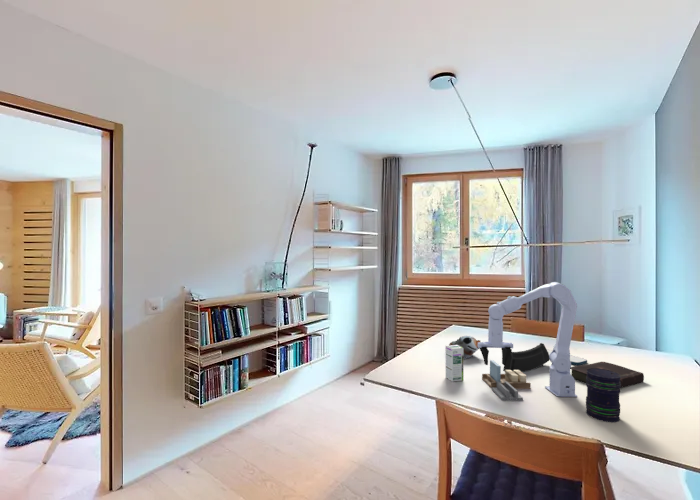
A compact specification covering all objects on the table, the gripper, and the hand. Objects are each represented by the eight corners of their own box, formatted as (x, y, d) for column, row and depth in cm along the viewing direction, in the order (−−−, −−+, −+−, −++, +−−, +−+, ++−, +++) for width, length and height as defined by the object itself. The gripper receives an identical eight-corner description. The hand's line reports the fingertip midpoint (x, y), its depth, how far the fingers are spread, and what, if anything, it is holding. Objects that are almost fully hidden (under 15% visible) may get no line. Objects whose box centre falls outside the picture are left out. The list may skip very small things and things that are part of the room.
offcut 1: (517, 385, 152) (518, 375, 152) (512, 384, 152) (512, 375, 152) (510, 378, 159) (510, 369, 159) (505, 378, 160) (505, 369, 159)
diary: (644, 384, 159) (644, 372, 159) (610, 393, 148) (610, 381, 148) (599, 370, 176) (600, 359, 176) (566, 377, 165) (566, 366, 165)
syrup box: (452, 382, 157) (452, 348, 157) (444, 377, 163) (445, 344, 163) (463, 380, 159) (464, 347, 159) (456, 376, 165) (456, 344, 165)
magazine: (505, 356, 165) (544, 330, 179) (499, 354, 168) (538, 329, 181) (512, 390, 167) (550, 362, 181) (506, 388, 170) (544, 360, 184)
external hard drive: (532, 354, 200) (532, 351, 200) (545, 351, 206) (545, 348, 206) (576, 367, 180) (576, 363, 180) (589, 363, 185) (590, 359, 185)
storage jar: (594, 421, 123) (594, 377, 123) (580, 408, 133) (580, 367, 132) (626, 423, 121) (627, 378, 121) (610, 410, 131) (611, 369, 131)
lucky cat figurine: (469, 351, 204) (480, 331, 199) (476, 366, 193) (488, 345, 188) (444, 344, 202) (455, 324, 197) (450, 358, 191) (462, 338, 186)
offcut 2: (526, 385, 152) (526, 375, 152) (520, 385, 152) (520, 375, 152) (518, 379, 159) (518, 369, 159) (513, 378, 159) (513, 369, 159)
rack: (530, 388, 150) (530, 383, 150) (491, 388, 151) (491, 382, 151) (518, 379, 161) (518, 373, 161) (482, 378, 162) (482, 373, 162)
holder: (523, 400, 139) (523, 391, 139) (501, 400, 139) (502, 391, 139) (511, 390, 149) (511, 381, 149) (491, 389, 149) (491, 381, 149)
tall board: (500, 385, 152) (500, 366, 152) (497, 385, 152) (497, 366, 152) (492, 378, 160) (493, 360, 160) (489, 378, 160) (489, 360, 160)
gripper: (508, 330, 160) (507, 361, 160) (475, 330, 160) (474, 361, 160) (515, 334, 153) (515, 367, 153) (481, 334, 153) (480, 366, 153)
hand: (495, 364), depth 156 cm, fingers open, 7 cm apart
